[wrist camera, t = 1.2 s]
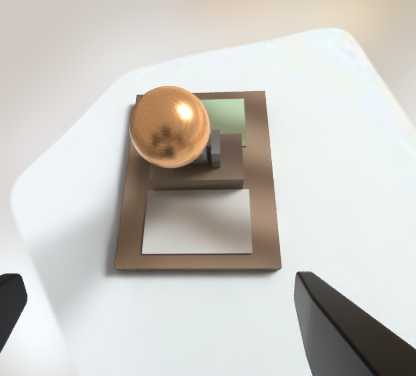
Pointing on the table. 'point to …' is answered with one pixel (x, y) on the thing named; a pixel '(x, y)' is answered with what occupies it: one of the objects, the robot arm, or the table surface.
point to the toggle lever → (170, 128)
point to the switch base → (206, 198)
